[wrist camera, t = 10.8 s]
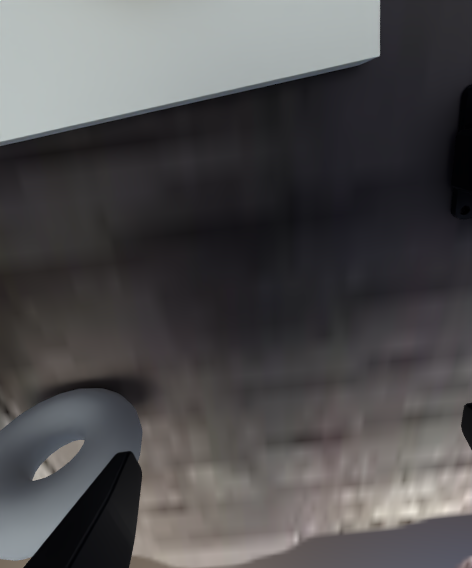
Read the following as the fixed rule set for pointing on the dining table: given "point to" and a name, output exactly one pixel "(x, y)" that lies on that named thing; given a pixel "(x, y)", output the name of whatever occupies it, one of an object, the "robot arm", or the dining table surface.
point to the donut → (69, 479)
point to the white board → (163, 54)
